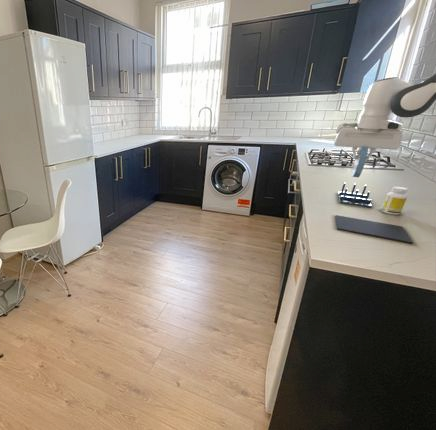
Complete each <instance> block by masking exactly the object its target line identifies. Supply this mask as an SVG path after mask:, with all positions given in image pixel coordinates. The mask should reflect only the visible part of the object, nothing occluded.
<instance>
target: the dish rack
mask: <svg viewBox="0 0 436 430" xmlns="http://www.w3.org/2000/svg"><path fill="white" fill-rule="evenodd" d="M346 184H347V182H343V185H342V187H341V191H338V192H337V197H338V203H339V204H342V205H347V206H355V207H361V208H367V209H371V208H372V204H371V203H372V199H369V198H370V194H371V191H369V190H368V191H367V192H366V189H367V186H368V185H367V184H364V186H363V189H362V192H361V193H359V191H360V190H359V189H356V186H357V183H353V186H352V190H351V192H348V188H347V187H346ZM345 187H346V188H345ZM355 189H356V191H355ZM365 192H366V194H365Z"/></svg>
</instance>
